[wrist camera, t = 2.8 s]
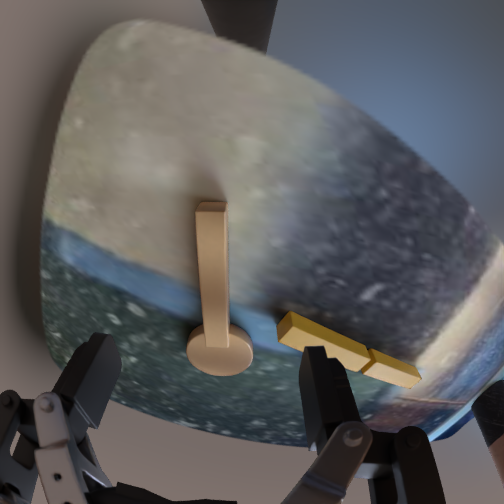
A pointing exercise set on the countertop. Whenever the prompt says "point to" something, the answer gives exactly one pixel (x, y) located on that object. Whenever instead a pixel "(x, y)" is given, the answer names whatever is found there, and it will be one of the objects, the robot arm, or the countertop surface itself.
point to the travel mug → (492, 422)
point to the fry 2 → (390, 370)
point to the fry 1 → (321, 340)
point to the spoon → (216, 299)
